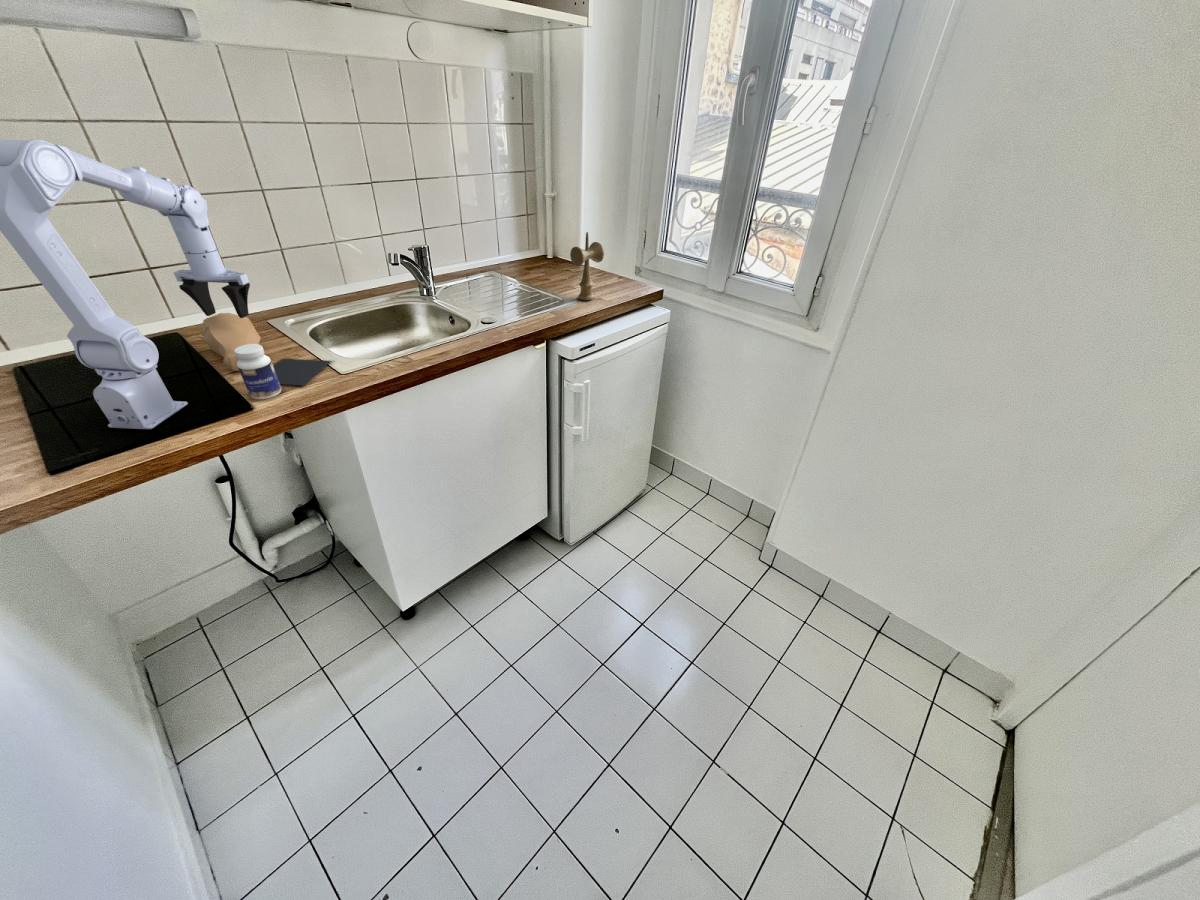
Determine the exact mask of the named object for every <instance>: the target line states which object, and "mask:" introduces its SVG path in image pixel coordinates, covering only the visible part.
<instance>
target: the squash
mask: <svg viewBox="0 0 1200 900" xmlns="http://www.w3.org/2000/svg"><path fill="white" fill-rule="evenodd" d="M201 335H202V337H203V341H204V342H205V344H206V345H207V347H209V349H210V350H211V351H212V352H214V353H216V354H217V355H219V356H221V357H223V359H222V362H223V364H224V366H225V367H226V368H228V369H229V370H231V371H234V372H237V371H238V372H240V371H239V369H238V367H237V362H238V360H239V358H237V357H236V355H235V352H234V350H235V349H236V348H237V347H240V346H243V345H247V344H259V345H260V341H261V338H262V337H261V336H260V334H259V333H258V331H257V330H256V328H255V326H254V325H253V323H252V321H251V320H250V318H249V317H248V316H246V317H244V318H240V317H239V316H238V314H235V313H231V312H220V313H217V314H213V315H210V316H208V317H206V318H205V319H203V320H202V327H201Z"/></svg>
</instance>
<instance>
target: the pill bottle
mask: <svg viewBox="0 0 1200 900" xmlns="http://www.w3.org/2000/svg"><path fill="white" fill-rule="evenodd" d="M234 352H235V355H236V357H237V358H239V360H238V362H237V367H238V369H239V371H238V372H239V373H240V376H241V378H242V381H243V384H244V386H245V388H246V390H247V392H248V395H249V397H250V398H252V399H255V400H267V399H271V398H274V397H275V396H278V395H279V394H281V392H282V386H281V385H280V383H279V380H278V378H277V375H276V372H275V370H274V367H273V366H274V364H273V362H272V359H271V358H270V356H268V355H266V354H265V350H264V347H263V346H262V345H261V344H260V343H259V344H247V345H243V346H240V347H237V348H236V349H235V350H234Z"/></svg>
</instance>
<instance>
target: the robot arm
mask: <svg viewBox="0 0 1200 900" xmlns="http://www.w3.org/2000/svg"><path fill="white" fill-rule="evenodd" d="M81 181H82V182H85V183H88V184H91V185H94V186H95V185H96V186H99V187H102V188H106V189H110V190H113V191H117V193H118V194H119V195H120V196H121V197H122V198H123V199H124V200H125V201H127V202H128V203H132V204H135V205H138V206H142V207H145V208H149V209H152V210H155V211H157V212H158V213H159V214H160V215H162V216H163V217H167V219H168V221H169V223H170V225H171V228H172V230H173V232H174V234H175V237H176V239H177V241H178V243H179V246H180V248H181V251H182V253H183V255H184V257H185V259H186V261H187V262H186V263H187V264H188V267H189V269H178V270H176V271H173V275H174V277H175V279H176V282H179V283H180V282H182V284H180V285H178V287H179V289H180V290H181V291H182V292H184V293H185V294H186V295H187V296H188V297H190V298H191V299H192V301H193V302H195V304H196V305H197V306H198V307H199V308H200V310H201V311H202V312H203V313H204V315H205V316H206V317H211V316H214V315H216V312H217V311H216V308H215V305H214V303H213V299H212V297H211V294H210V289H209V283H216V284H217V283H218V284H219V283H220V284H227V285H224V286H222V287H221V290H222V291H223V292H224V293H225V295H226V296H227V297H228V299H229V300H230V302H231V303H232V306H233V308H234V310H235V312H236V315H238V316H239V317H240V318H244V317H248V316H249V314H250V313H249V305H248V300H249V299H248V297H249V291H250V287H251V285H250V284H251V283H250V280H249V278H248V275H247V273H245V272H238V271H233V270H228V268H227V267H225V264H224V263H223V259H222V258H221V254H220V253H219V250H218V248H217V245H216V243H215V240H214V238H213V235H212V233H211V231H210V228H209V226H210V220H209V218H208V203H207V200H206V198H203V196H202V195H201V193H200V192H199V191H198V190H196V189H195V188H194V187H192V186H190V185H183V184H182V185H181V184H175V183H174V182H172V180H171V179H170V178H167V177H158V176H156V175H153V174H150V173H148V172H147V169H146V168H145V167H141V166H135V165H134V166H131V167H125V168H122V169H117V168H115V167H113V166H110V165H108V164H105V163H103V162H100V161H97V160H95V159H92V158H90V157H88V156H85V155H83V154H81V153H78V152H76V151H73V150H71V149H69V148H68V147H67V146H64V145H59V144H54V143H51V142H49V141H48V140H47V141H46V140H44V139H29V140H27V139H24V140H23V139H6V138H5V139H2V138H0V233H1V235H3V236H4V238H5V239H6V240H7V241H8V243H9V244H10V245H11V247H12V248H13V249H14V250H15V252H16V253H17V255H18V256H19V258H21V259H22V261H23V262H24V263H25V265H26V266H27V267H28V269H29V270H30V271H31V272H32V274H33V275H34V276H35V277H36V279H37V280H38V282H39V283H40V284H41V285H42V286H43V288H44V289H45V290H46V291H47V293H48V294H49V295H50V297H51V298H52V299H53V300H54V302H55V303H56V305H58V307H59V309H60V310H61V311H62V312H63V313H64V315H65V316H66V317H67V319H68V320H69V321H70V322H71V324H72V325H73V326H72V327H71V328H70V329H69V331H68V332H67V334H66V337H67V338H68V339H69V341H70V342H71V344H72V346H73V349H74V354H75V357H76V358H77V359H78V360H77V361H79V362H80V363H81V365H83V366H85V367H86V368H89V369H93V370H94V371H95V372H96V374H97V376H101V377H102V380H101V382H100V383H99V384H98V385H97V386H96V387H95V388H94V389H93V390H92V395H93V398H94V401H95V402H96V403H97V405H98V407H99V408H100V410H101V411H102V413H103V414H104V415H105V417H106V419H107V420H108V422H109V423H108V424H107V427H108V428H110V429H111V428H112V429H132V430H152V429H154V428H155V427H157V426H159V425H160V424H161V423H162V422H164V421H166V420H168V419H169V418H170V417H172V416H173V415H175V414H176V413H178V412H179V411H181V410H182V409H183V408H185V407H186V406H188V405H189V403H188V402H187V401H181V400H180V401H179V400H178V401H177V400H173V398H172V396H171V394H170V392H169V391H168V389H167V387H166V384H165V383H164V382H163V379H162V378H161V376H160V375H159V372H158V370H157V368H158V367H159V366H158V362H159V358H160V357H159V356H160V355H159V354H160V353H159V351H158V348H157V345H156V344H155V342H153V341H152V340H151V339H149V338H148V337H147V336H145V335H144V334H143V333H142V332H141V331H140V330H139V328H138V327H137V326H135V325H134V324H132V323H131V322H129V321H127V320H125V319H123V318H121V317H119V316H118V315H117V314H116V313H115V312H114V311H113V309H112V307H111V306H110V305H109V304H108V302H107V300H106V299H105V298H104V297H103V295H102V294H101V292H100V290H99V289H98V288H97V286H96V285H95V283H94V282H93V280H92V279H91V278H90V276H89V274H87V272H86V270H85V269H84V268H83V266H82V265H81V264H80V262H79V261H78V259H77V258H76V256H75V255H74V254H73V252H72V251H71V249H70V248H69V246H68V245H67V244H66V242H65V241H64V239H63V238H62V236H61V235H60V234H59V233H58V231H57V229H56V228H55V227H54V226H53V223H52V222H51V221H50V219H49V214H50V213H51V210H52V208H54V207H55V206H56V204H57V203H59V201H60V200H61V199H63V198H64V196H65V195H67V193H68V192H69V191H70V189H72V187H73V186H74V184H75V182H81Z"/></svg>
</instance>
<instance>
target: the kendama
mask: <svg viewBox="0 0 1200 900" xmlns="http://www.w3.org/2000/svg"><path fill="white" fill-rule="evenodd" d="M589 238H590V237H589V232H588V231H587V232H585V247H584V249H583V248H581V247H579V246H573V247H572V248H571V249H570V262H571V263H572V264H573V265H574V266H575V267H581V266H583V270H582V271H583V272H582V277H581V281H580V282H579V283H578V285H579V287H580V292H579V294H578V295H577V298H578V299H579V300H582V301H593V300H594V299H595V297H596V296H595V295H594V292H593V287H594V286H595V283H594V282H593V280H592V276H591V270H590V269H591V268H590V260H591V261H592V262H595V263H601V262H603V260H604V257H605V256H604V255H605V251H604V247H603V245H602V244H601V243H600V242H598V241H594V242H591V243H590V245H589Z"/></svg>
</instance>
